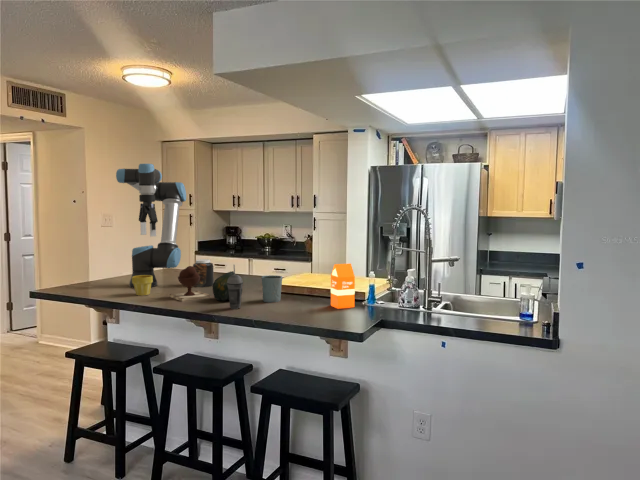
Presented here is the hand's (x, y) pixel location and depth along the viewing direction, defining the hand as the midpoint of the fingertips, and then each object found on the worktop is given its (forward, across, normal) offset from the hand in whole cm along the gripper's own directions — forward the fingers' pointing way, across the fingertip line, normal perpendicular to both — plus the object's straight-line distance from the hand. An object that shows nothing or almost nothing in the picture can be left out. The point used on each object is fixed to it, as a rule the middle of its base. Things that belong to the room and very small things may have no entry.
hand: (148, 235), depth 250 cm
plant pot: (+32, -5, -2) cm, 32 cm away
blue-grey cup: (+31, +51, +42) cm, 73 cm away
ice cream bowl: (+30, +18, +14) cm, 38 cm away
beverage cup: (+31, +55, +19) cm, 66 cm away
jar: (+32, -12, +36) cm, 50 cm away
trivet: (+31, +18, +14) cm, 39 cm away
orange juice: (+31, +83, +60) cm, 107 cm away
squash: (+31, +35, +26) cm, 54 cm away
